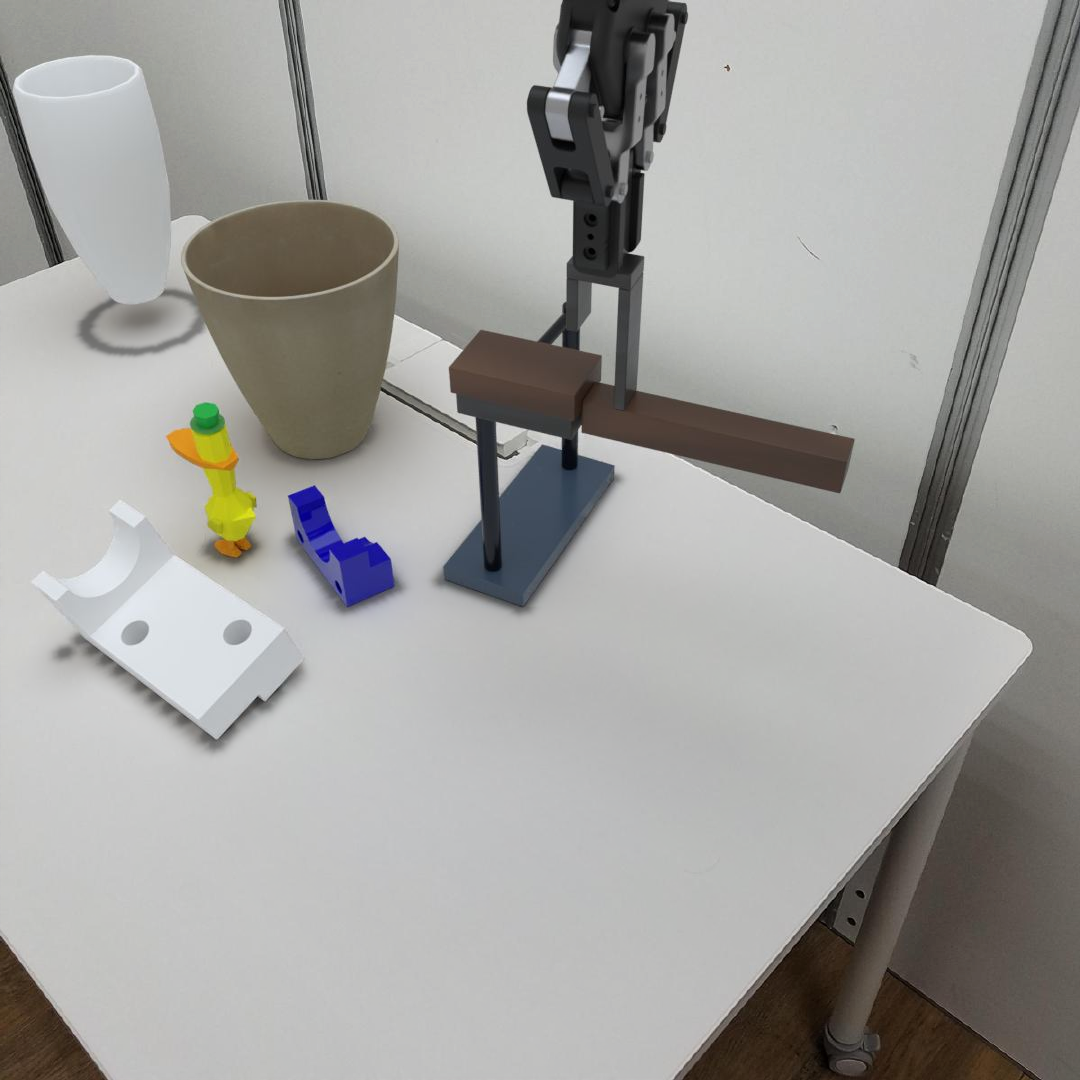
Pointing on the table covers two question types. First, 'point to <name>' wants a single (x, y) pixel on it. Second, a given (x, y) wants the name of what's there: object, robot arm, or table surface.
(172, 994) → the table surface
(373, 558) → the cable holder
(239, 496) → the toy figure
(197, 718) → the bracket
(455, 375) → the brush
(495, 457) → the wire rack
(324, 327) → the plant pot
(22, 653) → the table surface
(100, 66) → the cup
